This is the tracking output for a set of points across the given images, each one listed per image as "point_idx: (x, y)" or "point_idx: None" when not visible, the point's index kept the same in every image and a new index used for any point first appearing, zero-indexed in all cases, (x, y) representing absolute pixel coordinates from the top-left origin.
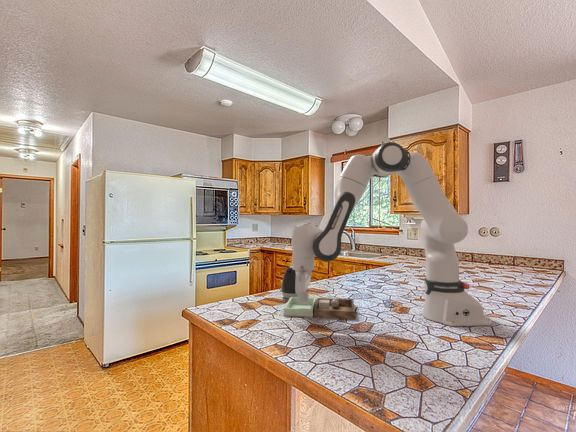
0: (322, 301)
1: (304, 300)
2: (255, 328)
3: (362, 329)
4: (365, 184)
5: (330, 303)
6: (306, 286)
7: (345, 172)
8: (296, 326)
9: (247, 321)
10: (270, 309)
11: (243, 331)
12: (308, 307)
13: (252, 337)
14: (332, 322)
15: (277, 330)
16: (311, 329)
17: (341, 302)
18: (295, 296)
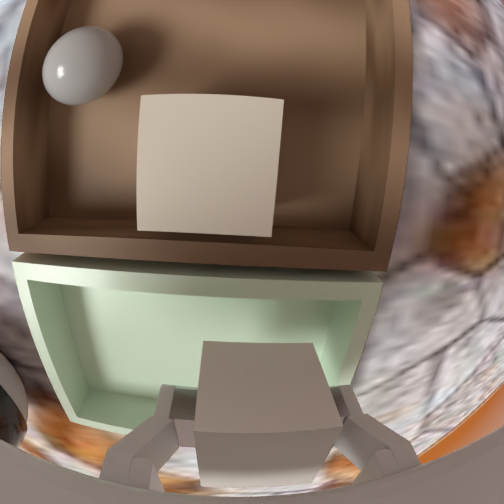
0: (220, 189)
1: (354, 394)
2: (408, 433)
3: (467, 3)
4: None
5: (39, 119)
6: (479, 489)
7: None
8: (438, 325)
9: (341, 468)
10: (190, 451)
11: (418, 443)
12: (130, 298)
13: (462, 409)
14: (412, 116)
15: (448, 376)
16: (480, 252)
17: (46, 27)
18: (7, 373)
